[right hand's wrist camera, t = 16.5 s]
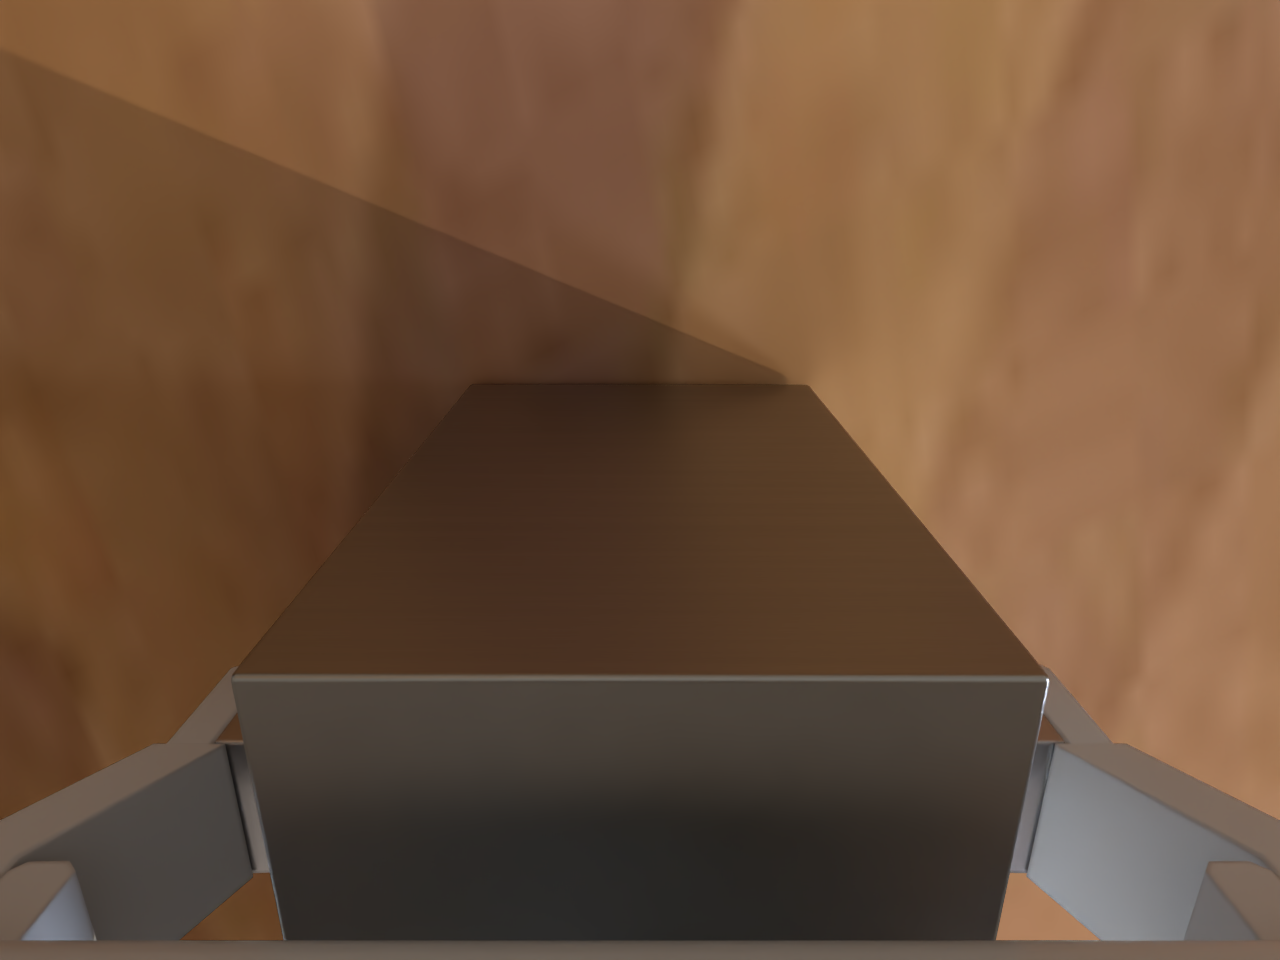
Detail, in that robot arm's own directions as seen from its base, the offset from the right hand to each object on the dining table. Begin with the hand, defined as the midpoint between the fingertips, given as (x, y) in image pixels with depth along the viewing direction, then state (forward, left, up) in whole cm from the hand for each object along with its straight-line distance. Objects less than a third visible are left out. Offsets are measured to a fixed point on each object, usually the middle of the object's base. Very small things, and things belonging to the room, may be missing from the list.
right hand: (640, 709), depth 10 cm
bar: (-6, +8, -5) cm, 11 cm away
